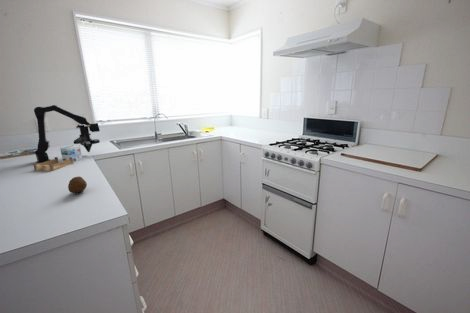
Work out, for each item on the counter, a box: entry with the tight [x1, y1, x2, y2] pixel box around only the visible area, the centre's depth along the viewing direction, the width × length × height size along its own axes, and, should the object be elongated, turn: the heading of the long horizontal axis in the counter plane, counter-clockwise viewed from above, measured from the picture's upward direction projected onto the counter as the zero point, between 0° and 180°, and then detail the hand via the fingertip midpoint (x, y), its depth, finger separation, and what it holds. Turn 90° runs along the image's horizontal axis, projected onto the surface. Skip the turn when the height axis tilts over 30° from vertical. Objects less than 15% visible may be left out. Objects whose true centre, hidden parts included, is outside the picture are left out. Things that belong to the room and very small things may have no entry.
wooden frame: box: [32, 156, 74, 172], centre depth 150 cm, size 13×16×5 cm
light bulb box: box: [59, 144, 83, 163], centre depth 164 cm, size 11×7×11 cm, turn 168°
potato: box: [67, 176, 87, 194], centre depth 107 cm, size 7×10×8 cm
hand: (88, 151), depth 180 cm, fingers closed
